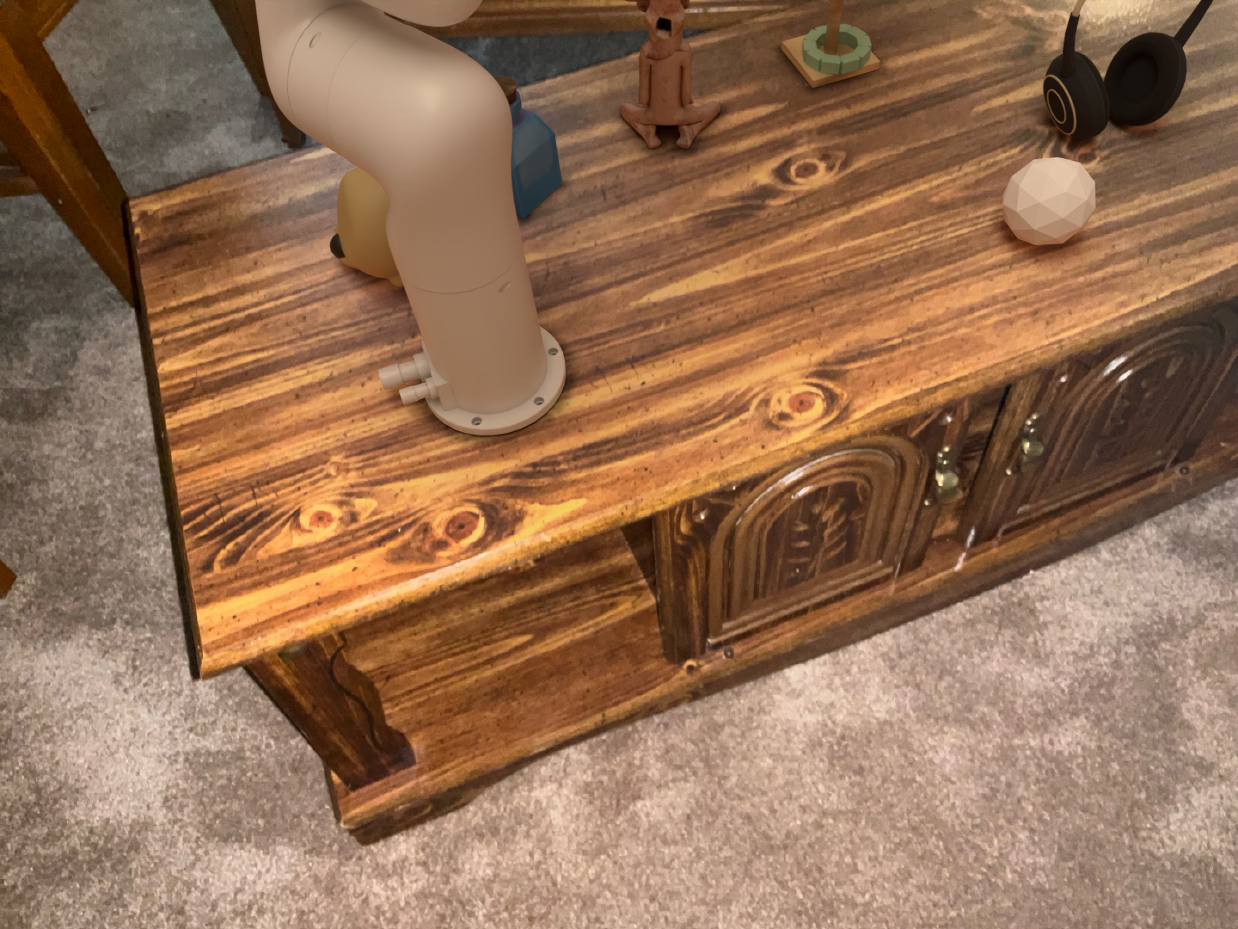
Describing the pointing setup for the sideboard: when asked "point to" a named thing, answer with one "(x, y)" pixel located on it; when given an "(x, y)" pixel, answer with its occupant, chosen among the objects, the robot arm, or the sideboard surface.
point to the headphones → (1118, 80)
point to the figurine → (666, 77)
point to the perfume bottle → (530, 154)
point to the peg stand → (826, 51)
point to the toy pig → (364, 227)
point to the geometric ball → (1049, 200)
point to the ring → (834, 62)
